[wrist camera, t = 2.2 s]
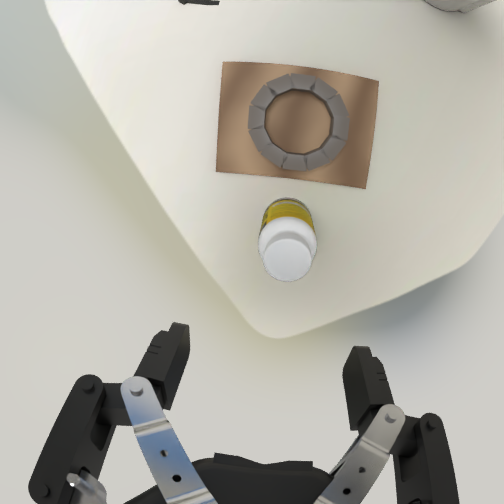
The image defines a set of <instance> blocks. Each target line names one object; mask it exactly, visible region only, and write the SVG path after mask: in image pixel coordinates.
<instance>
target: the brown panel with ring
mask: <svg viewBox="0 0 504 504" xmlns="http://www.w3.org/2000/svg"><path fill="white" fill-rule="evenodd" d="M378 86H379V81H376V80H372V79H368V78H364V77H359V76H355V75H350V74H345V73H340V72H335V71H329V70H323V69H316V68H309V67H302V66H293V65H283V64H271V63H255V62H223V65H222V78H221V91H220V105H219V121H218V139H217V159H216V172H227V173H241V174H253V175H264V176H274V177H283V178H292V179H301V180H309V181H316V182H324V183H331V184H337V185H344V186H350V187H357V188H363V189H366V183H367V177H368V171H369V165H370V158H371V151H372V144H373V136H374V128H375V119H376V110H377V99H378Z"/></svg>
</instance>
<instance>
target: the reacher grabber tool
mask: <svg viewBox="0 0 504 504" xmlns="http://www.w3.org/2000/svg"><path fill="white" fill-rule="evenodd" d="M178 1H179V2H180V3H182V4H186V3H193V4H202V5H219V2H220V1H212V0H178Z"/></svg>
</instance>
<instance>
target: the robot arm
mask: <svg viewBox="0 0 504 504" xmlns="http://www.w3.org/2000/svg"><path fill="white" fill-rule="evenodd" d="M425 1H426V2H428V3H429V4H431V5H433V6H434V7H437V8H439V9H441V10H445V11H461V12H463V13H466V12H468V11H470V10H473V9H475V8H477V7H480V6H482V5H485V4H488V3H490V2H493V1H496V0H425ZM189 336H190V335H189V325H186V324H181V323H176V322H174V323H172V325H171V327H170V329H169V331H168V332H167V331H162V330H161V331H160V332H159V333H158V334H156V335H155V336H154V337H153V339H152V341H151V343H150V346H149V347H148V349H147V352H146V353H145V355H144V357H143V359H142V361H141V362H140V364H139V367H138V369H137V370H136V372H135V374H134V376H133V377H130V378H128V379H126V380H125V381H124V382H123V383H102V381H101V379H100V378H99V377H97V376H95V375H84V376H82V377H80V378H79V379H78V380H77V381H76V382H75V384H74V386H73V388H72V390H71V392H70V394H69V396H68V398H67V400H66V402H65V403H64V405H63V407H62V409H61V411H60V413H59V415H58V417H57V419H56V421H55V423H54V426H53V428H52V430H51V432H50V434H49V437H48V438H47V441H46V443H45V445H44V447H43V450H42V452H41V454H40V457H39V459H38V461H37V464H36V466H35V469H34V471H33V474H32V476H31V479H30V481H29V485H28V489H29V493H30V496H31V498H32V499H33V500H34V501H35V502H36V503H37V504H107V503H106V490H105V488H104V486H103V485H102V484H101V483H100V482H99V481H98V478H99V475H100V472H101V469H102V466H103V463H104V459H105V457H106V453H107V451H108V448H109V445H110V442H111V439H112V436H113V434H114V431H115V428H116V425H122V426H133V428H134V433H135V436H136V438H137V441H138V443H139V446H140V448H141V450H142V453H143V455H144V457H145V460H146V462H147V464H148V466H149V468H150V471H151V473H152V475H153V477H154V479H155V481H156V483H157V485H155V486H153V487H152V488H150V489H148V490H147V491H145V492H143V493H142V494H140V495H138V496H137V497H135V498H133V499H131V500H129V501H127V502H126V503H124V504H360V503H361V502H362V500H363V499H364V497H365V496H366V495H367V493H368V492H369V490H370V488H371V487H372V486H373V484H374V482H375V481H376V479H377V478H378V476H379V474H380V473H381V471H382V469H383V468H384V466H385V464H386V462H387V461H388V459H389V457H390V454H393V461H394V469H395V480H396V492H397V504H459V497H458V491H457V484H456V479H455V473H454V468H453V463H452V458H451V454H450V449H449V445H448V441H447V437H446V433H445V429H444V426H443V422H442V420H441V419H440V417H439V416H437V415H436V414H433V413H426V414H424V415H423V416H422V417H421V418H415V417H410V416H406V415H405V414H404V412H403V411H402V409H401V408H400V407H398V406H396V405H395V404H394V401H393V397H392V394H391V390H390V387H389V383H388V381H387V377H386V374H385V370H384V367H383V364H382V363H381V362H380V360H379V359H378V358H377V357H372V354H371V350H370V348H369V347H367V346H354V347H353V348H352V350H351V352H350V355H349V357H348V359H347V361H346V363H345V365H344V368H343V375H342V376H343V383H344V389H345V395H346V402H347V409H348V415H349V423H350V430H352V431H354V430H358V432H359V435H358V437H357V438H356V439H355V441H354V442H353V444H352V445H351V446H350V448H349V449H348V451H347V452H346V453H345V455H344V456H343V457H342V459H341V460H340V461H339V462H338V464H337V465H336V466H335V467H334V468H333V470H332V471H331V472H330V473H329V474H328V473H327V472H325V471H323V470H321V469H318V468H315V467H313V462H312V461H285V462H279V463H272V464H260V463H257V462H254V461H251V460H248V459H245V458H242V457H239V456H233V455H227V454H220V453H215V454H214V458H205V459H200V460H197V461H194V462H190V460H189V458H188V456H187V454H186V453H185V451H184V449H183V447H182V445H181V443H180V441H179V440H178V438H177V436H176V434H175V432H174V430H173V428H172V426H171V424H170V422H169V421H168V420H167V419H166V417H165V414H164V412H163V409H166V410H170V409H171V406H172V403H173V400H174V397H175V395H176V392H177V389H178V386H179V383H180V380H181V377H182V375H183V372H184V369H185V366H186V363H187V361H188V358H189V353H190V337H189Z"/></svg>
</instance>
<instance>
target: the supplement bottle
mask: <svg viewBox="0 0 504 504" xmlns="http://www.w3.org/2000/svg"><path fill="white" fill-rule="evenodd" d="M258 249H259V254H260V256H261V258H262V260H263V263H264V267H265V269H266V271H267V272H268V273H269V274H270V276H272V277H273V278H275V279H277V280H280V281H286V282H289V281H295V280H298V279H300V278H301V277H303V276H304V275H305V274H306V273H307V272H308V271H309V269H310V267H311V263H312V260H313V258H314V256H315V253H316V249H317V240H316V235H315V231H314V227H313V223H312V219H311V215H310V212H309V210H308V209H307V207H306V206H305V205H304V204H303V203H301V202H300V201H298V200H296V199H292V198H282V199H279V200H276V201H274V202H273V203H271V204H270V205H269V206H268V208H267V209H266V211H265V213H264V216H263V220H262V225H261V230H260V234H259V239H258Z"/></svg>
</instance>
